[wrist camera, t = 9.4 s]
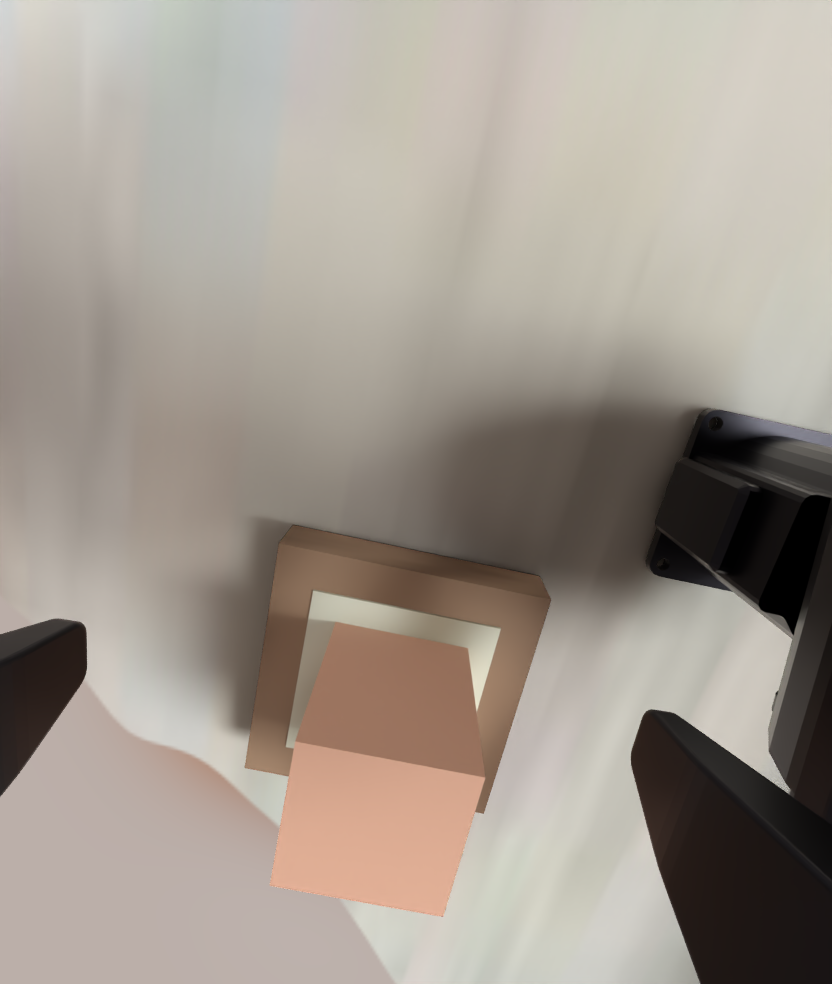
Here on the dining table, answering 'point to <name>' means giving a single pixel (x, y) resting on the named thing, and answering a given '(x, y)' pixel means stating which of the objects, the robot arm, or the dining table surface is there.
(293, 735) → the walnut plinth
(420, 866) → the terracotta block
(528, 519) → the dining table surface
